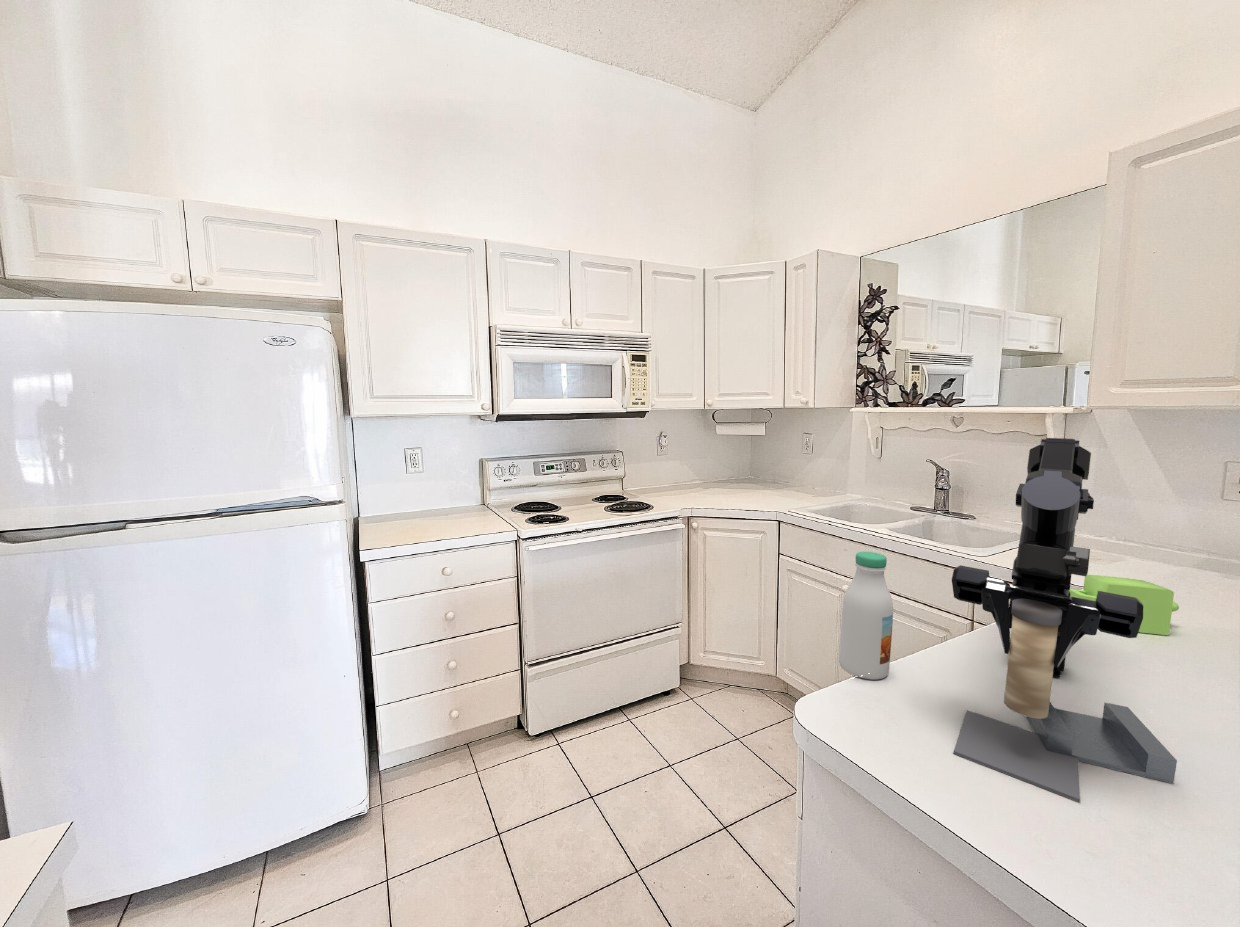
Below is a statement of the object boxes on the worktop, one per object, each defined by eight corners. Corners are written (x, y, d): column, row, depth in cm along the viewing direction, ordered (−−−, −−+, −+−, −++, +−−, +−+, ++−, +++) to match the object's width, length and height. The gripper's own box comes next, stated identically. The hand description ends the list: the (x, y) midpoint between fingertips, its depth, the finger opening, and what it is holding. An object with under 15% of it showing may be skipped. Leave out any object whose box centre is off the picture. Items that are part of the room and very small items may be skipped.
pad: (953, 753, 65) (953, 750, 65) (966, 712, 74) (966, 709, 74) (1079, 802, 57) (1079, 799, 57) (1077, 749, 66) (1077, 746, 66)
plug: (995, 703, 65) (1005, 603, 63) (1011, 693, 67) (1021, 596, 66) (1040, 724, 61) (1053, 617, 59) (1056, 711, 63) (1068, 608, 62)
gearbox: (1160, 622, 108) (1165, 579, 108) (1197, 640, 99) (1203, 593, 98) (1059, 610, 113) (1064, 568, 113) (1086, 626, 104) (1091, 581, 103)
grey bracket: (1019, 704, 76) (1021, 685, 75) (1125, 726, 71) (1127, 706, 70) (1046, 753, 65) (1048, 731, 65) (1173, 783, 60) (1176, 760, 60)
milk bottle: (865, 685, 81) (874, 563, 78) (828, 662, 88) (835, 550, 85) (899, 675, 84) (908, 558, 81) (860, 654, 91) (868, 546, 89)
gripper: (960, 509, 71) (937, 607, 64) (1152, 532, 58) (1149, 657, 51) (964, 552, 77) (944, 645, 70) (1137, 581, 65) (1133, 697, 58)
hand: (1030, 658), depth 62 cm, fingers closed on plug, 4 cm apart
